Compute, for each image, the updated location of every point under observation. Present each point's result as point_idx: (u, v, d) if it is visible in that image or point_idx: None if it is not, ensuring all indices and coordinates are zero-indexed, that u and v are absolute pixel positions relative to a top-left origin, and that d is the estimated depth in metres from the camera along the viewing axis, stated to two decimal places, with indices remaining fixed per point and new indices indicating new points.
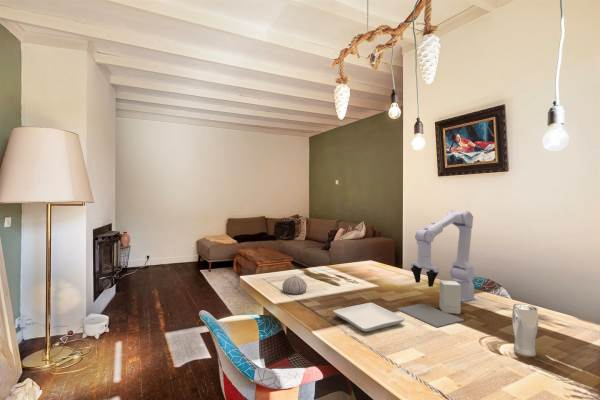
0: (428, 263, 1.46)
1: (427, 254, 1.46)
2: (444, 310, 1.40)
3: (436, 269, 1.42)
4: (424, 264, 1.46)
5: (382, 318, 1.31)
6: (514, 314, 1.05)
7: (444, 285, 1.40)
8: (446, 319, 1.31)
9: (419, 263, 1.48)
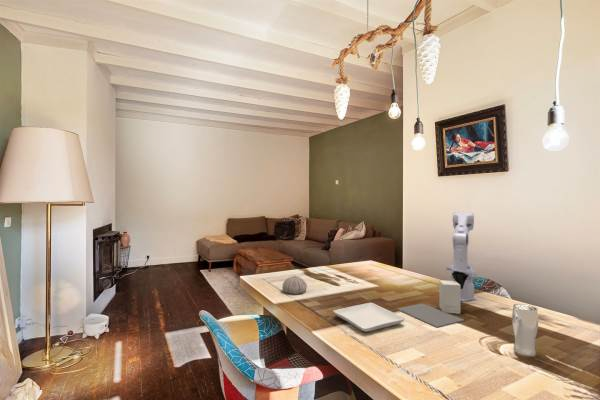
0: (465, 267, 1.43)
1: (466, 257, 1.44)
2: (444, 310, 1.40)
3: (474, 273, 1.39)
4: (461, 268, 1.43)
5: (382, 318, 1.31)
6: (514, 314, 1.05)
7: (444, 285, 1.40)
8: (446, 319, 1.31)
9: (455, 267, 1.45)
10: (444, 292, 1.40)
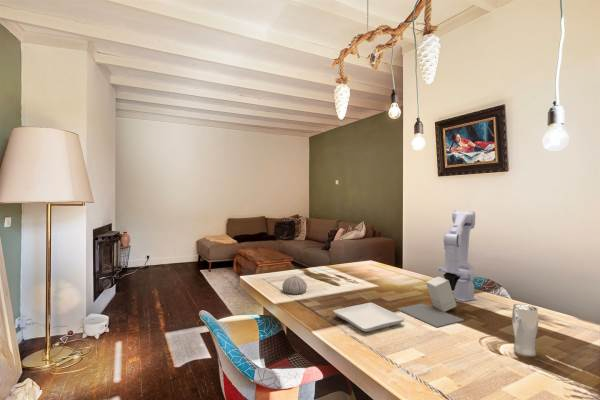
0: (456, 268, 1.41)
1: (458, 259, 1.41)
2: (443, 309, 1.40)
3: (465, 274, 1.37)
4: (452, 269, 1.41)
5: (382, 318, 1.31)
6: (514, 314, 1.05)
7: (436, 287, 1.39)
8: (446, 319, 1.31)
9: (447, 268, 1.42)
10: (438, 293, 1.40)
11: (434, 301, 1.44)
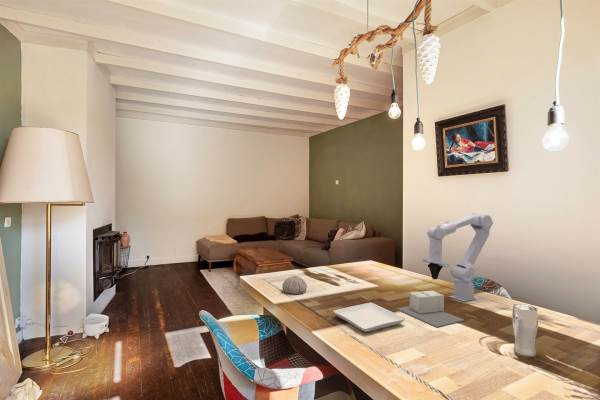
0: (439, 259, 1.54)
1: (437, 250, 1.54)
2: (442, 310, 1.40)
3: (447, 264, 1.50)
4: (435, 259, 1.54)
5: (382, 318, 1.31)
6: (514, 314, 1.05)
7: (420, 312, 1.37)
8: (446, 319, 1.31)
9: (430, 259, 1.56)
10: (426, 311, 1.38)
11: None
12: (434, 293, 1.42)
